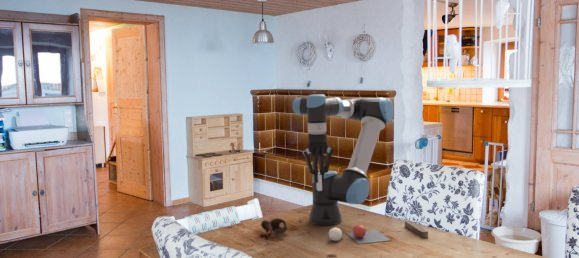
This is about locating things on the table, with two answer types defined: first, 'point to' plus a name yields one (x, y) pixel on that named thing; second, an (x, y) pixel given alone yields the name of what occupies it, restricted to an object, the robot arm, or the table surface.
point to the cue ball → (335, 234)
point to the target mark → (369, 237)
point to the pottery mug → (274, 227)
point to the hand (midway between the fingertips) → (319, 190)
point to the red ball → (359, 231)
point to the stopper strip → (416, 229)
